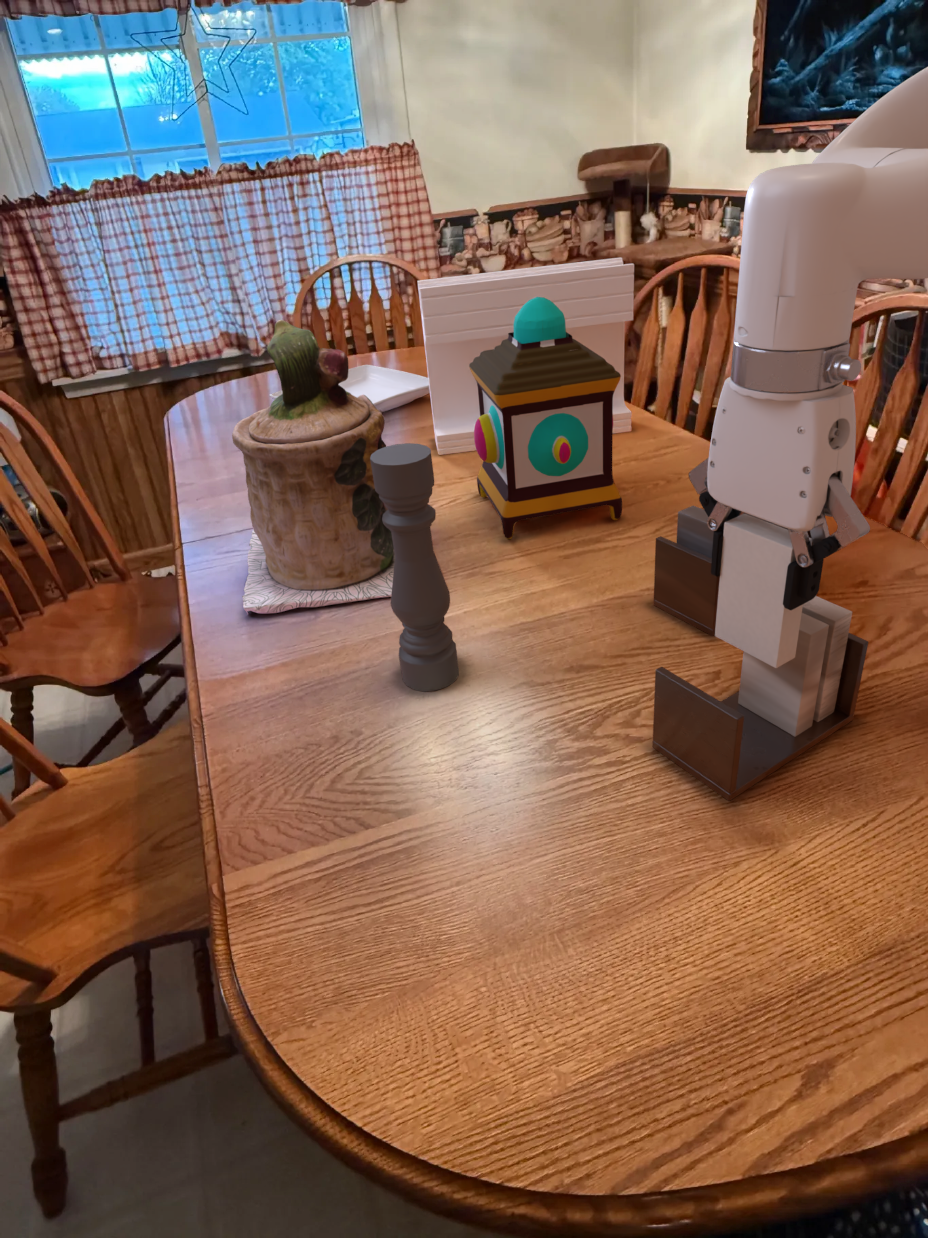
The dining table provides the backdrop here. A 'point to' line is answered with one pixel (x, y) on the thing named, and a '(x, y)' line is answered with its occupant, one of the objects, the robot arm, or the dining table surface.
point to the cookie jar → (313, 485)
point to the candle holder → (415, 566)
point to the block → (484, 315)
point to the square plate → (383, 386)
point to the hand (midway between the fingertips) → (761, 584)
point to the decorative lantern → (544, 421)
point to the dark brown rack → (764, 706)
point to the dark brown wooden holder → (689, 571)
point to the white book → (757, 591)
